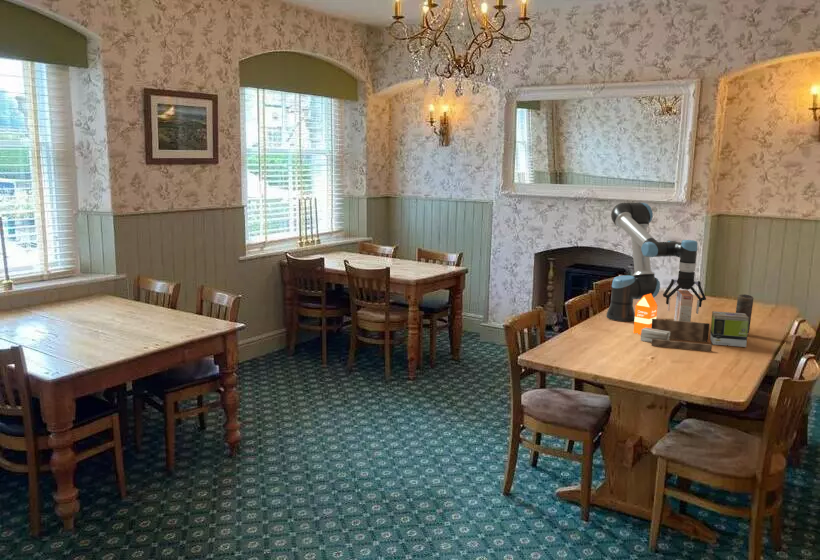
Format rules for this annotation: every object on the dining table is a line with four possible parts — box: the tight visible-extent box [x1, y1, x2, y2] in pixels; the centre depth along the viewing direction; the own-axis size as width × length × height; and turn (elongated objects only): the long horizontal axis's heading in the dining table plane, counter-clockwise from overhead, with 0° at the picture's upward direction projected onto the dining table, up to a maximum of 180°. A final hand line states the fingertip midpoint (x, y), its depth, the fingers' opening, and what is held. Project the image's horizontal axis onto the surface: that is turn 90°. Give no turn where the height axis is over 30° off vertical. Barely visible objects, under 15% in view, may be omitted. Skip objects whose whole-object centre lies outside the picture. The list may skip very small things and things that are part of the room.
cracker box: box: [673, 289, 694, 322], centre depth 342 cm, size 14×6×21 cm, turn 167°
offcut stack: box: [640, 327, 670, 344], centre depth 324 cm, size 6×12×6 cm, turn 49°
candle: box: [735, 294, 755, 334], centre depth 340 cm, size 8×7×20 cm
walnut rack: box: [651, 318, 713, 352], centre depth 321 cm, size 26×19×9 cm
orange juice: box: [633, 294, 658, 335], centre depth 339 cm, size 8×9×20 cm
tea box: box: [709, 310, 749, 348], centre depth 322 cm, size 15×10×15 cm, turn 73°
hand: (682, 311), depth 342 cm, fingers open, 13 cm apart
